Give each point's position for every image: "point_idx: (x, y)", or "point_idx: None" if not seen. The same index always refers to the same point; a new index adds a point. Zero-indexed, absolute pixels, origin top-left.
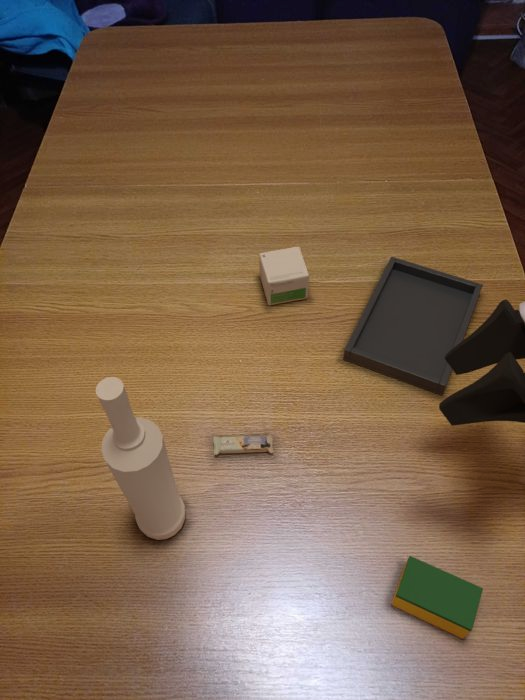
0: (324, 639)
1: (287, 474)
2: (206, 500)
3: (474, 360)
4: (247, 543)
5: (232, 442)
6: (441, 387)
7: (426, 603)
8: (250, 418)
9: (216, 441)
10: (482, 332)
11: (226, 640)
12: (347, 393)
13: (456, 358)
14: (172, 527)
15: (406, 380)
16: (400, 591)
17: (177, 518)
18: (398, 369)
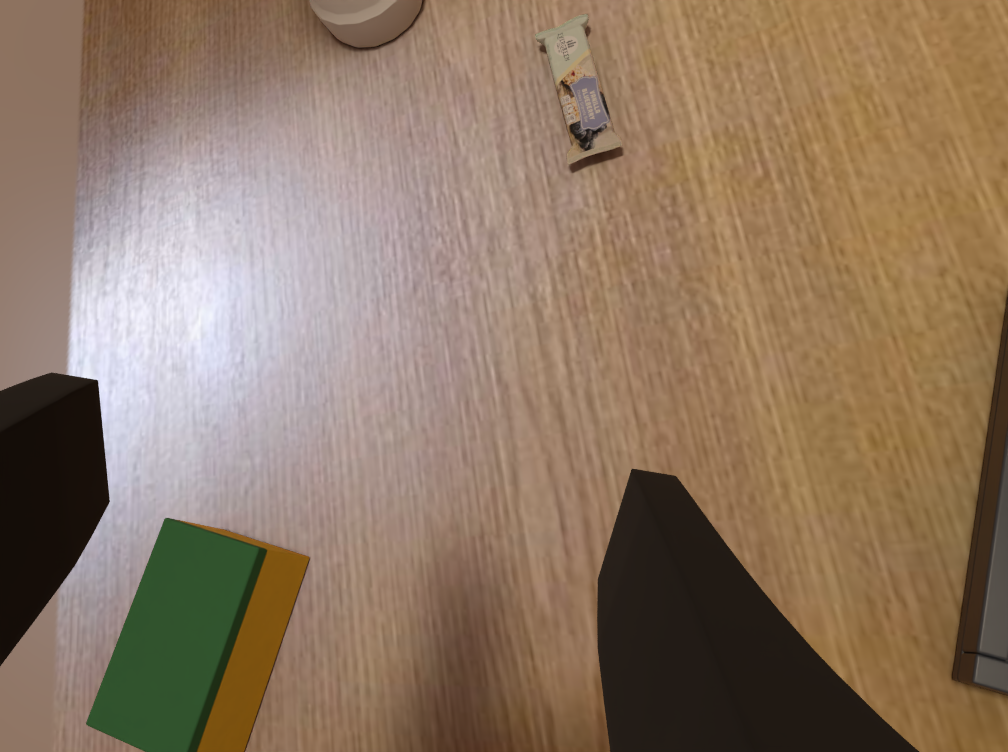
0: (156, 390)
1: (521, 222)
2: (426, 70)
3: (625, 673)
4: (338, 185)
5: (569, 55)
6: (968, 667)
7: (143, 598)
8: (676, 84)
9: (572, 24)
10: (720, 698)
11: (155, 207)
12: (852, 327)
13: (631, 542)
14: (323, 11)
15: (978, 527)
16: (171, 527)
17: (332, 5)
18: (1000, 477)
